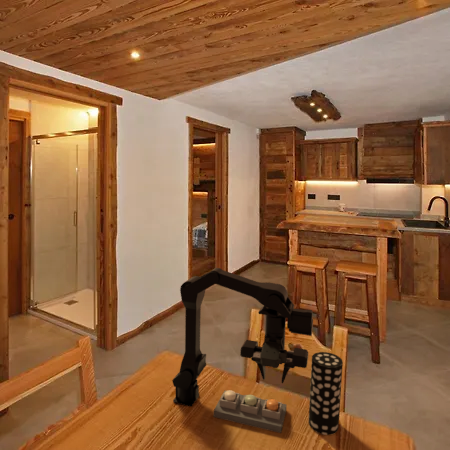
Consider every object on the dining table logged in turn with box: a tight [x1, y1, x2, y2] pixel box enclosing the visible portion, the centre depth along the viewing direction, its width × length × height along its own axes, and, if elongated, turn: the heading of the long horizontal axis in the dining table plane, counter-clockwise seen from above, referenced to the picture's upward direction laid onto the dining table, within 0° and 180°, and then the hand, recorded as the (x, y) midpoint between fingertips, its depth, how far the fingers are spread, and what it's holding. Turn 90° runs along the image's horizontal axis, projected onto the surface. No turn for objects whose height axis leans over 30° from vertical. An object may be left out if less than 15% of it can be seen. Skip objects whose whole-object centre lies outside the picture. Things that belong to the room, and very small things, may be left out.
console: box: [213, 390, 287, 434], centre depth 103 cm, size 20×10×4 cm, turn 72°
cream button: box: [224, 389, 237, 402], centre depth 105 cm, size 3×3×2 cm
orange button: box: [266, 398, 279, 412], centre depth 101 cm, size 3×3×2 cm
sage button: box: [245, 394, 257, 407], centre depth 103 cm, size 3×3×2 cm
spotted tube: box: [308, 351, 344, 436], centre depth 98 cm, size 8×8×20 cm
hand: (273, 380), depth 100 cm, fingers open, 5 cm apart
